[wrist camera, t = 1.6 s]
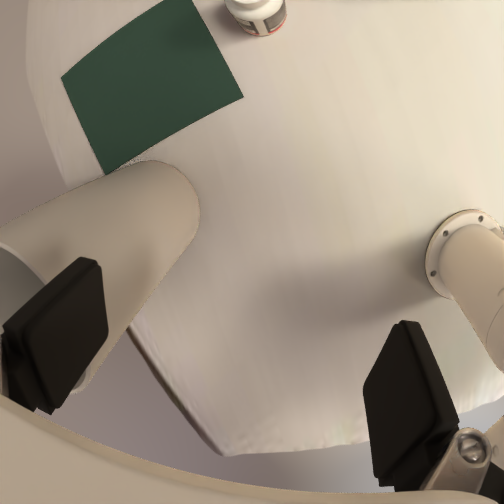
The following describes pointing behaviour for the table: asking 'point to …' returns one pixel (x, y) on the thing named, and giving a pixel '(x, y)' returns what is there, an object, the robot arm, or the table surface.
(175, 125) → the right mat
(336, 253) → the table surface
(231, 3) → the pill bottle
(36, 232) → the cylinder vase
